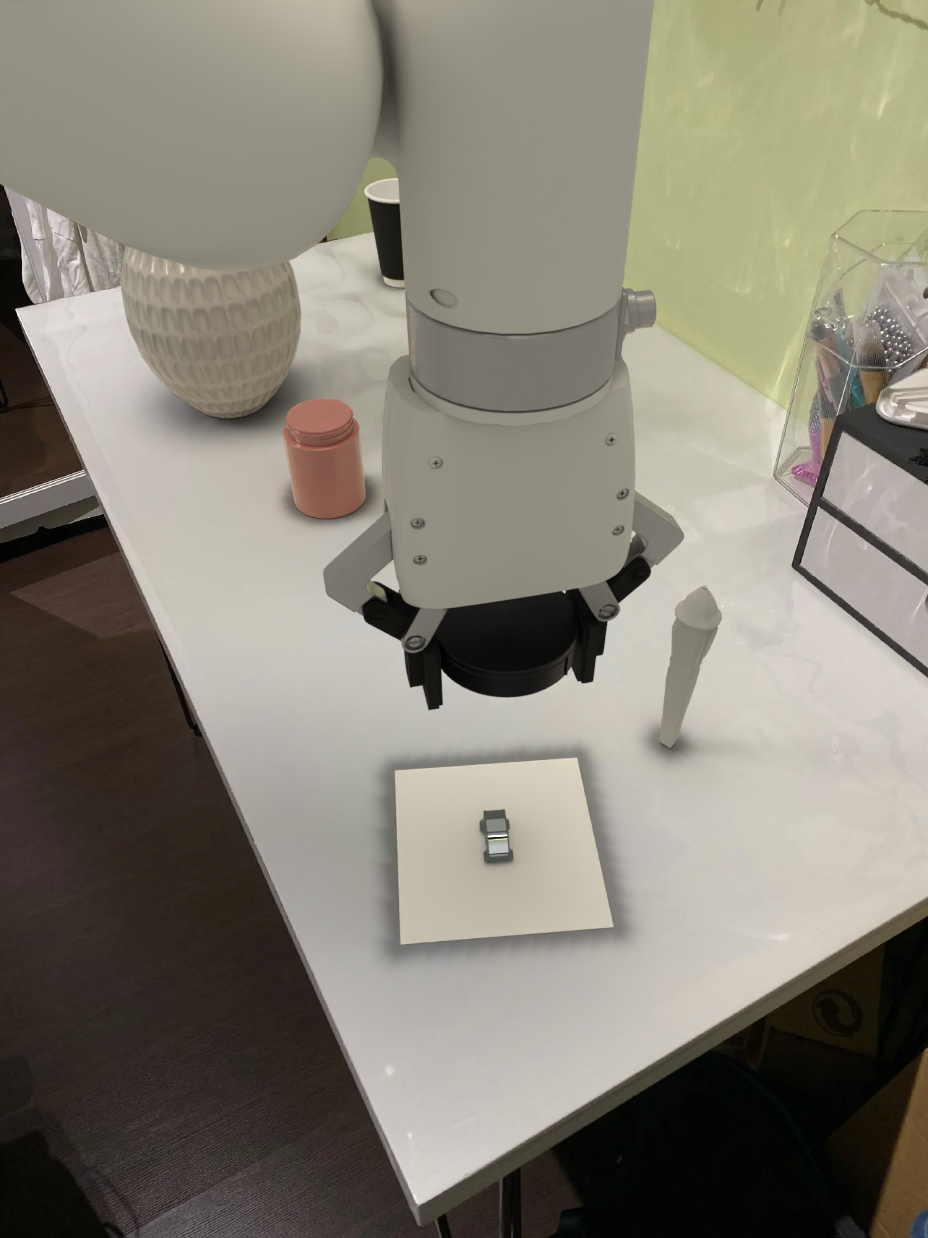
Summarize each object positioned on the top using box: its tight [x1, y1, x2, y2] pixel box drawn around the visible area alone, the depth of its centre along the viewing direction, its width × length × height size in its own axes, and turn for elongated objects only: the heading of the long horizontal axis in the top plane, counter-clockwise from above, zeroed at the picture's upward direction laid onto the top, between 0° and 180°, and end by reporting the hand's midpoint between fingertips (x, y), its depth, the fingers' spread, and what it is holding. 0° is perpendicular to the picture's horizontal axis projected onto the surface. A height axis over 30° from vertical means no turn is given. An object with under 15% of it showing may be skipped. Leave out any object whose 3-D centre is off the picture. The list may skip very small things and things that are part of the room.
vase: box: [120, 245, 302, 419], centre depth 86 cm, size 16×16×22 cm
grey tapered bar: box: [659, 585, 723, 749], centre depth 56 cm, size 2×3×14 cm
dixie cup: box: [364, 177, 405, 289], centre depth 112 cm, size 8×8×11 cm
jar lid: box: [435, 591, 579, 699], centre depth 43 cm, size 7×7×2 cm
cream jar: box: [282, 397, 367, 520], centre depth 78 cm, size 6×6×8 cm
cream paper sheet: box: [394, 757, 615, 945], centre depth 55 cm, size 12×12×2 cm
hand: (504, 673), depth 45 cm, fingers closed on jar lid, 6 cm apart
